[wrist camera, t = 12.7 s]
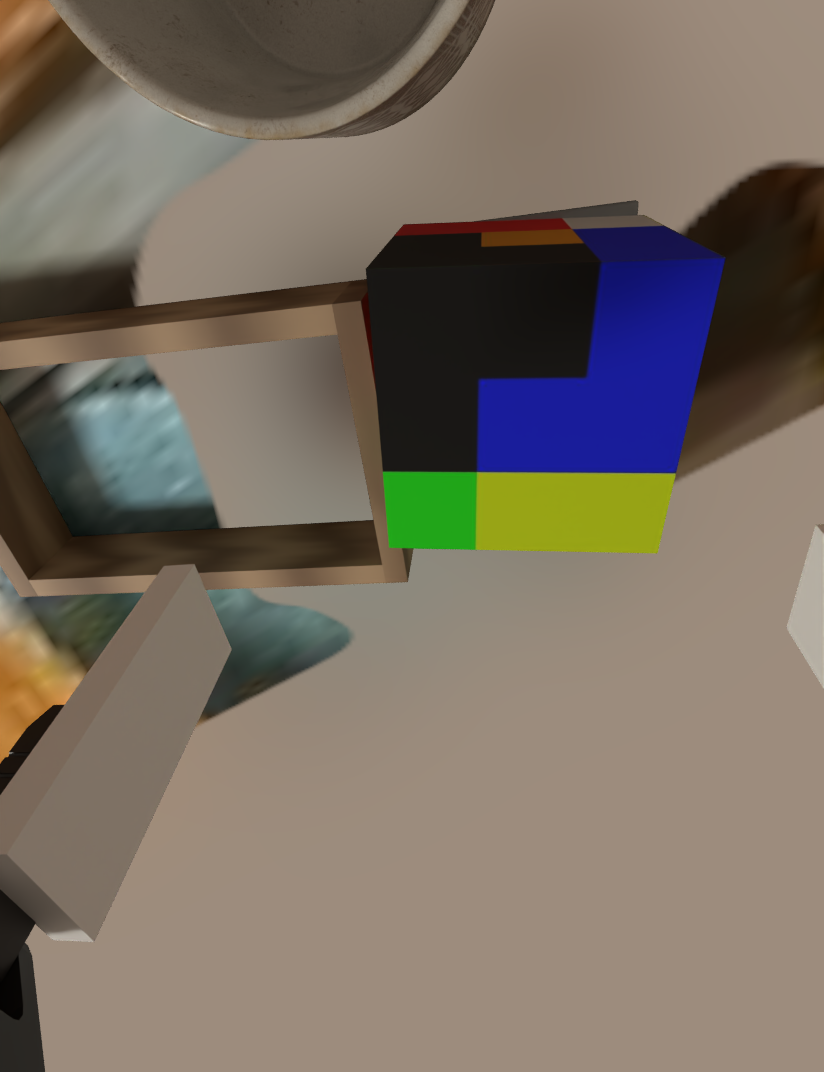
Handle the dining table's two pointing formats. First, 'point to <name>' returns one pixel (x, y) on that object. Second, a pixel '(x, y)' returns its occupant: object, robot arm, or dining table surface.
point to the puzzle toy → (536, 379)
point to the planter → (282, 58)
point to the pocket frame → (218, 554)
